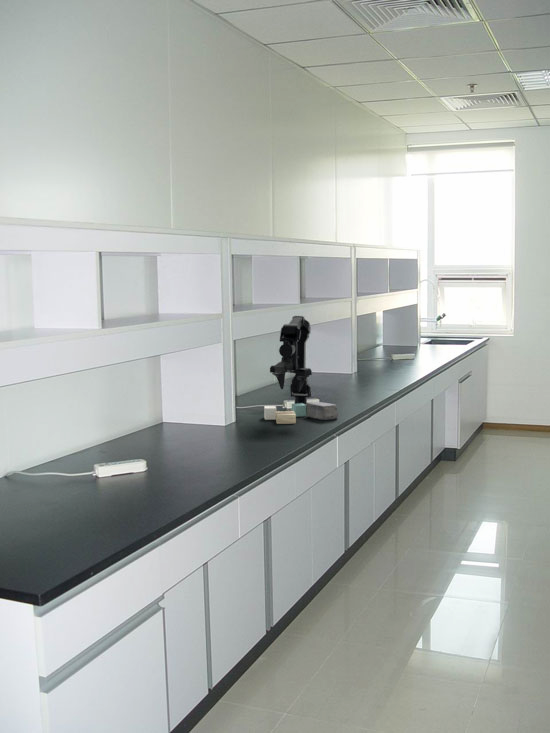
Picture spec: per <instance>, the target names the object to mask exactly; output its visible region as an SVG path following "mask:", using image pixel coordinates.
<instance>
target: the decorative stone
mask: <svg viewBox="0 0 550 733" xmlns="http://www.w3.org/2000/svg"><path fill="white" fill-rule="evenodd" d="M306 408H307V410H306V416H308V418H310V419H315V420H318V421H319V420H320V421H334V420H337V419H338V417H339V412H338V406H337V404H335V403H329V402H322V401H307V403H306Z"/></svg>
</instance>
